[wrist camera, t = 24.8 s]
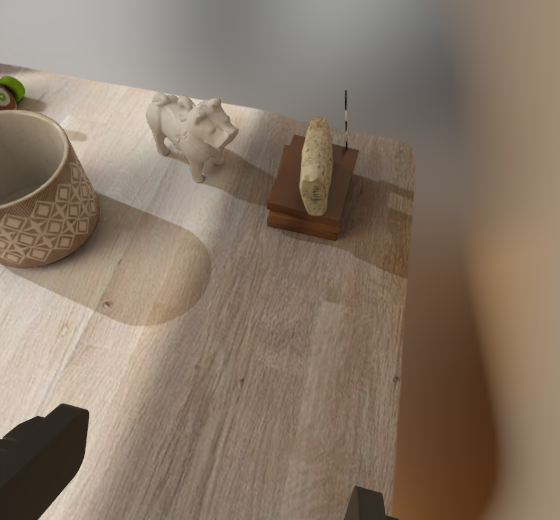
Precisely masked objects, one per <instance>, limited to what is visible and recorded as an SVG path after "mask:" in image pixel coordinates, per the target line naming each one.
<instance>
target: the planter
mask: <svg viewBox="0 0 560 520" xmlns="http://www.w3.org/2000/svg"><path fill="white" fill-rule="evenodd" d="M98 217H99V202H98V199H97V196H96V194H95V192H94V190H93V188H92V186H91V184H90V182H89V180H88V178H87V176H86V174H85V172H84V170H83V168H82V166H81V163H80V161H79V159H78V157H77V155H76V153H75V151H74V149H73V147H72V145H71V143H70V141H69V139H68V137H67V135H66V133H65V131H64V130H63V128H62V127H61V126H60V125H59V124H58V123H57V122H55V121H54V120H52V119H51V118H49V117H47V116H45V115H42V114H39V113H36V112H31V111H25V110H1V111H0V264H2V265H6V266H10V267H18V268H28V267H37V266H42V265H46V264H49V263H52V262H55V261H58V260H60V259H62V258H64V257H66V256H67V255H69V254H71V253H72V252H74V251H75V250H76V249H78V248H79V247H80V246H81V245H82V244H83V243H84V242H85V241H86V240H87V239H88V238H89V236H90V235H91V233H92V232H93V230H94V228H95V226H96V224H97V221H98Z"/></svg>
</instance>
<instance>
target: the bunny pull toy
mask: <svg viewBox="0 0 560 520" xmlns="http://www.w3.org/2000/svg"><path fill="white" fill-rule="evenodd" d="M24 94H25V89H24V86H23V85H22V84H21V83H20V82H19V81H18V80H17V79H15V78H13V77H10V76H4V77H2V78H1V79H0V111H1V110H17V104H16V102H18V101H20V100H21V98H22V97H23V96H24Z"/></svg>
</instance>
